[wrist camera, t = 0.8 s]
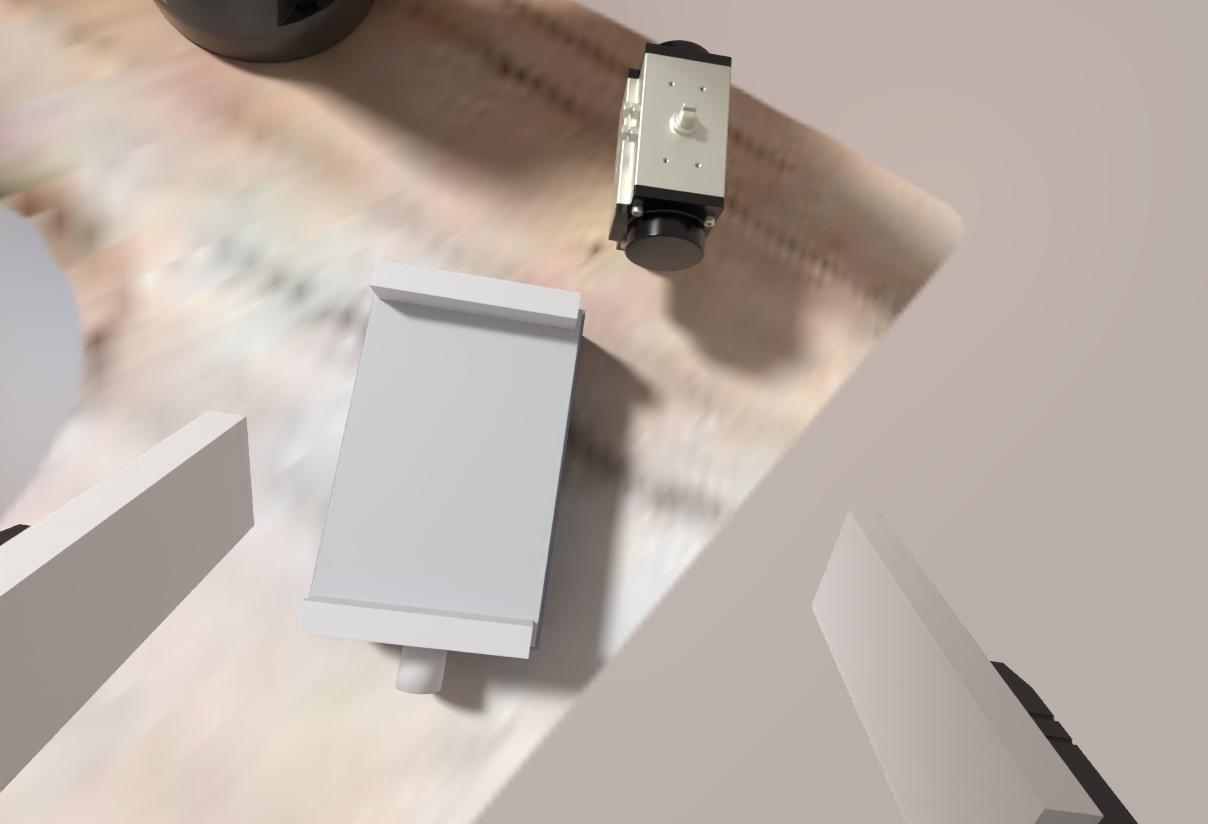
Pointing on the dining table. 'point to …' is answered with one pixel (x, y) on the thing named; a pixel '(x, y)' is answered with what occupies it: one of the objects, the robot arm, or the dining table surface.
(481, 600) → the grey piece
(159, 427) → the dining table surface
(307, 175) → the dining table surface
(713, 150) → the pneumatic valve
